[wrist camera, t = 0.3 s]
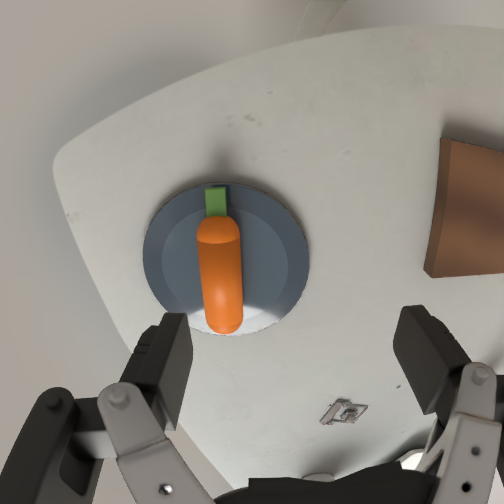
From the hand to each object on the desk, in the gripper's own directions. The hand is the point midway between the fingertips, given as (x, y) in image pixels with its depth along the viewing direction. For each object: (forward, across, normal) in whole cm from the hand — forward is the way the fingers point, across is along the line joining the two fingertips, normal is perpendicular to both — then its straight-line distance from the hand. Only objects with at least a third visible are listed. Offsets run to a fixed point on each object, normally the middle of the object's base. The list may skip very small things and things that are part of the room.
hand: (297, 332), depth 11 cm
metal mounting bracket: (+18, -7, +32) cm, 37 cm away
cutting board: (+17, -27, 0) cm, 32 cm away
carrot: (+17, +5, +4) cm, 18 cm away
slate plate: (+18, +5, +6) cm, 19 cm away
